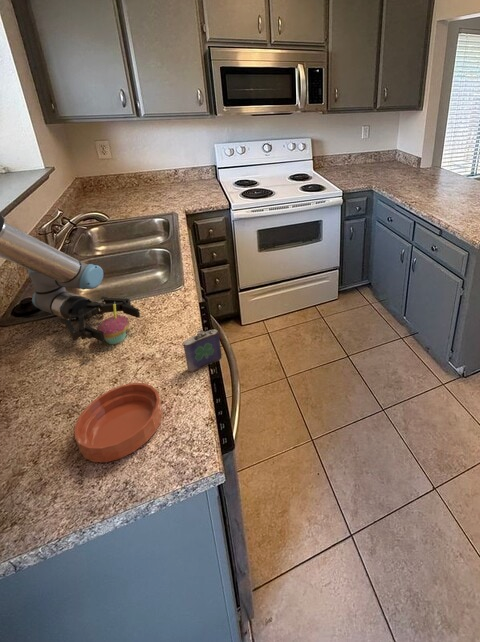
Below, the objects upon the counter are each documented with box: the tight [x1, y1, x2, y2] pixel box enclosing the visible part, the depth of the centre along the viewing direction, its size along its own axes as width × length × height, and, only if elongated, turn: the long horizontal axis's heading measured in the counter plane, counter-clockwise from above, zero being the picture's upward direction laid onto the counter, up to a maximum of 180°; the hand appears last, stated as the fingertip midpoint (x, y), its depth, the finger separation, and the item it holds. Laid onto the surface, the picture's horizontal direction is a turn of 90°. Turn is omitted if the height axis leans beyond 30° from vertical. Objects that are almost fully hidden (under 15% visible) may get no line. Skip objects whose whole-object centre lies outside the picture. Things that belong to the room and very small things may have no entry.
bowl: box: [74, 382, 163, 463], centre depth 78 cm, size 16×16×4 cm
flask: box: [182, 328, 223, 373], centre depth 95 cm, size 9×3×11 cm, turn 125°
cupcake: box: [96, 302, 131, 345], centre depth 105 cm, size 9×8×12 cm
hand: (121, 324), depth 103 cm, fingers open, 11 cm apart
